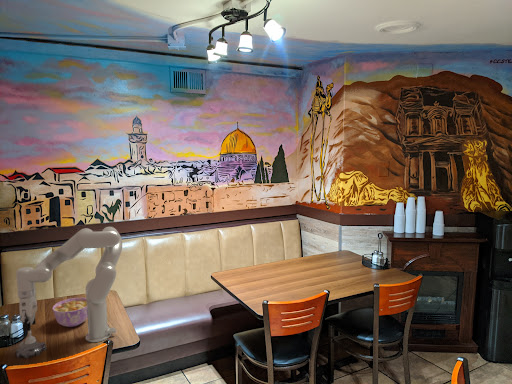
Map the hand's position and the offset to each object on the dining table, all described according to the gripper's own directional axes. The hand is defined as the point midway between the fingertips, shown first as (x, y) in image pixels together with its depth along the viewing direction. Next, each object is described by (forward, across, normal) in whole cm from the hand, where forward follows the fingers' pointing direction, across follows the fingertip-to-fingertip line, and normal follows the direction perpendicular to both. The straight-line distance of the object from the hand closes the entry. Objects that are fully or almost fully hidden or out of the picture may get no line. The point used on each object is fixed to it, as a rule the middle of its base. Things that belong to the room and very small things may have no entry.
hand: (29, 327), depth 187 cm
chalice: (+8, 0, 0) cm, 8 cm away
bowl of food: (+13, +27, -13) cm, 33 cm away
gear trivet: (+13, 0, 0) cm, 13 cm away
